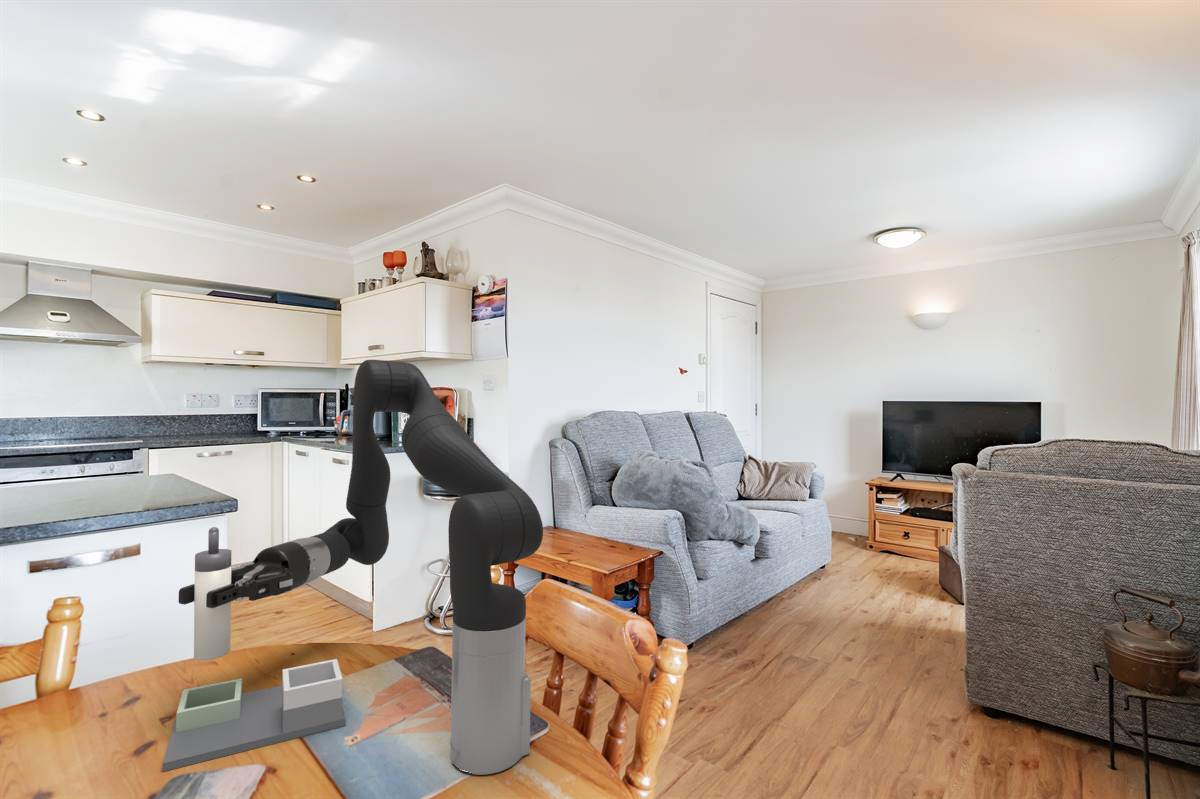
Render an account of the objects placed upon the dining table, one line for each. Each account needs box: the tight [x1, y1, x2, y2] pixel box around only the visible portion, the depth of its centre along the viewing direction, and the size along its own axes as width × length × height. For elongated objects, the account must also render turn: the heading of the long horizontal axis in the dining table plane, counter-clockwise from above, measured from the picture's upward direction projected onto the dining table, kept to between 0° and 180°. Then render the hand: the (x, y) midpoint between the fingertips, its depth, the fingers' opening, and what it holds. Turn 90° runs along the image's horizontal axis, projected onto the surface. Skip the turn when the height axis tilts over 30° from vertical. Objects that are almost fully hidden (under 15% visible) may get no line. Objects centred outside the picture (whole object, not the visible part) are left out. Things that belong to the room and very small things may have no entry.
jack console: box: [162, 658, 347, 773], centre depth 79 cm, size 20×14×6 cm
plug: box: [193, 526, 232, 661], centre depth 79 cm, size 4×4×18 cm
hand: (195, 598), depth 76 cm, fingers closed on plug, 4 cm apart
